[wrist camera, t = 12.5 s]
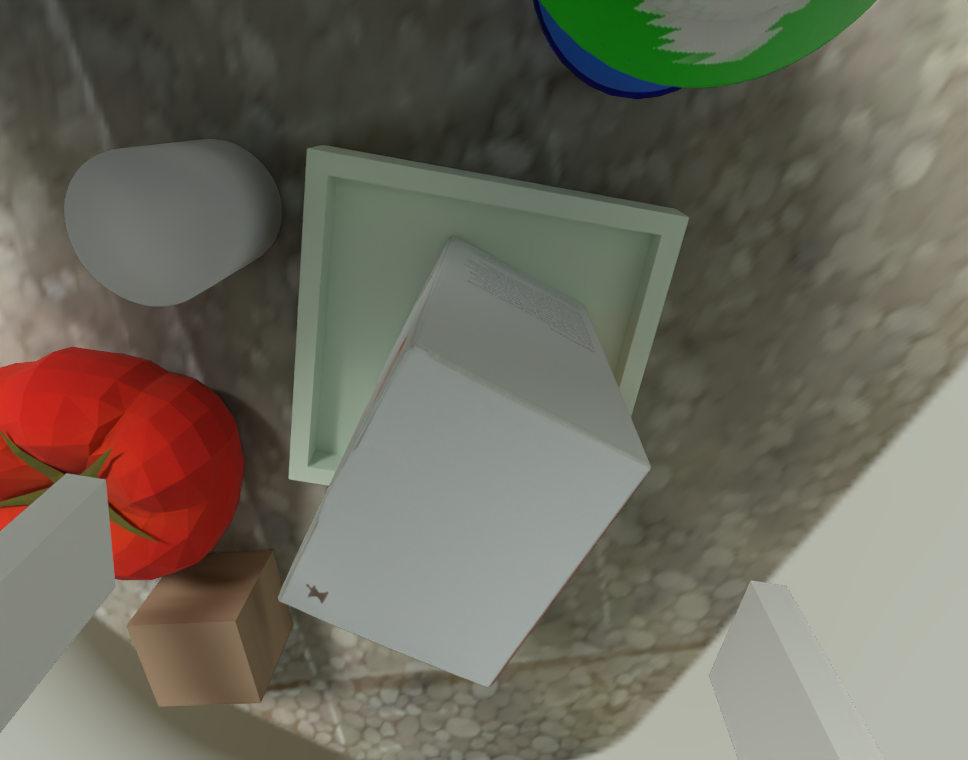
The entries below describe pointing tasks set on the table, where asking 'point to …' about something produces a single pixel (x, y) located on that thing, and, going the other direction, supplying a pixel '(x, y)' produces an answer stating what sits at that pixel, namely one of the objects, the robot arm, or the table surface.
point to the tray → (413, 254)
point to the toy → (686, 39)
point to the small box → (471, 473)
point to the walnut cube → (213, 630)
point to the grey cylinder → (170, 217)
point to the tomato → (123, 452)
